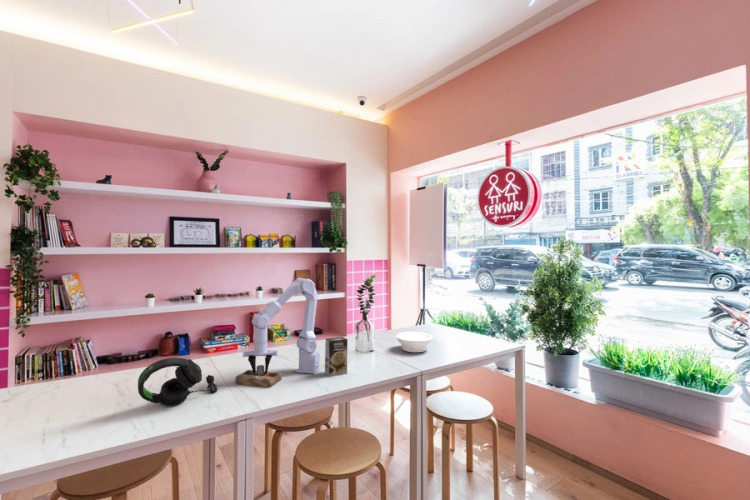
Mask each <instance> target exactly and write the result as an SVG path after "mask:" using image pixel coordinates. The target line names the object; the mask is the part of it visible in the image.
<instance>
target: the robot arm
mask: <svg viewBox="0 0 750 500" xmlns="http://www.w3.org/2000/svg"><path fill="white" fill-rule="evenodd" d="M299 294H302V295H303V296H304V297H305V304H304V312H303V321H302V329H301V331H300V332H299V335H298V338H297V340H296V347H297V348H298V368H297V369H296V370H295V373H303V374H304V373H305V374H316V373H317V372H318V371H319V370H320V369H321V366H320V365H321V364H320V353H319V352H316V349H317V347H318V346H317V339H316V338H317V336H316V335H315V332H314V331H315V323H316V313H317V305H318V299H319V295H318V292H317V288H316V283H314V281H312V280H311V279H310V278H302V277H298V278H296V279H295V280H293V282H291V283H290V285H289V286H288V287H287V289H285V291H284V292H283V293H282V294H280V296H278V298H277V299H276V300H272V301H269V302H267V303H266V304H267V305H266V306H265V307H264V308H263V309H261V310H260V311H259V313H256V314H255V315H254V316H253V317H252V320H251V324H252V325H253V350H248V351H243V352H242V357H243V358H246V357H248V358H247V361H248V362H249V364H250V367H251V370H253V374H255V372H256V371H257V366H256V363H257V361H256V360H257V357H264V371H265V373H267V372H269V371H268V370H269V365H270V362H271V360H272V358H273V356H274V357H278V352H279V351H278V349H277V350H272V349H268V326H270V323H271V320H273V318H274V317H276V315H277V314H279V313H280V312H281V310H282V306H283V305H284V304H285V303H286V302H287V301H289V299H291V298H292V297H293V296H294V295H299Z"/></svg>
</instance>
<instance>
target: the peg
mask: <svg viewBox="0 0 750 500" xmlns="http://www.w3.org/2000/svg"><path fill="white" fill-rule="evenodd" d="M256 371H257V376H263V375H264V371H265V364H260V365H259V364H258V365H257V366H256Z"/></svg>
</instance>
